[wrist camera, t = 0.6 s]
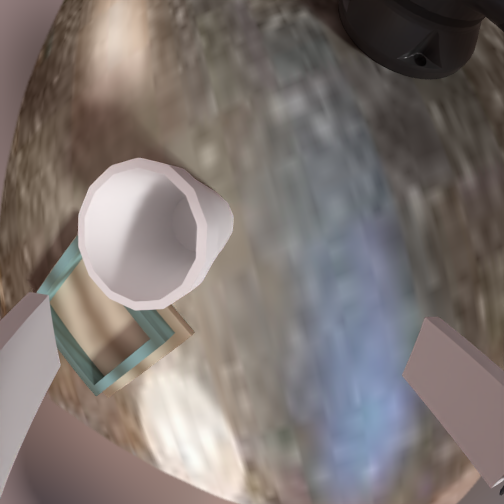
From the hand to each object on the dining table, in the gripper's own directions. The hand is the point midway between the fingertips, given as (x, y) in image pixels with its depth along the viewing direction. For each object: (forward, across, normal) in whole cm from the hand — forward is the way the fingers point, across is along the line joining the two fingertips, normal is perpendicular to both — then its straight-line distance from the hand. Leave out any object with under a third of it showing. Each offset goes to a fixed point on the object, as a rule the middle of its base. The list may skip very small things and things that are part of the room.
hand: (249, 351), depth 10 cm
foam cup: (+23, -1, -1) cm, 23 cm away
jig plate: (+25, -13, -13) cm, 31 cm away
